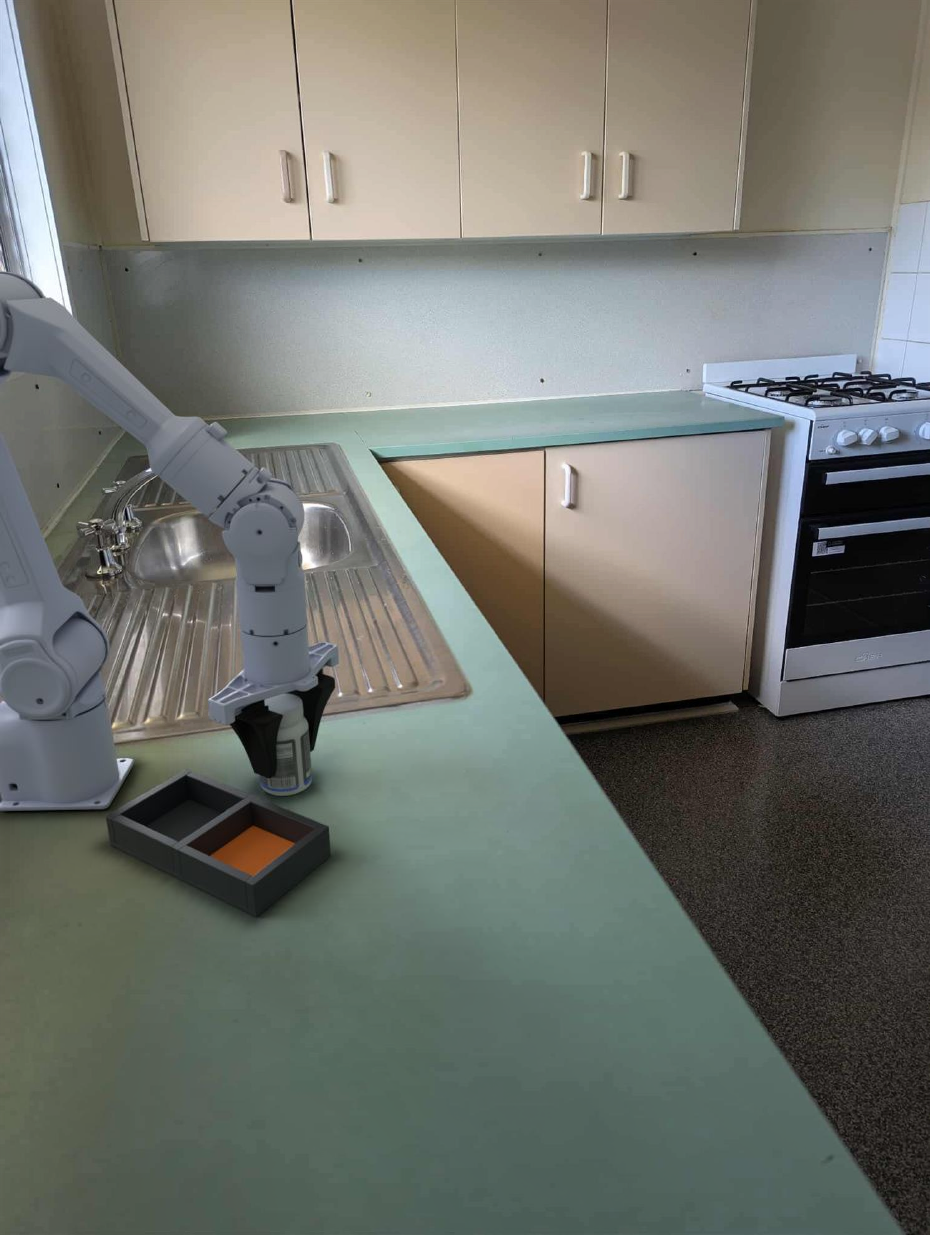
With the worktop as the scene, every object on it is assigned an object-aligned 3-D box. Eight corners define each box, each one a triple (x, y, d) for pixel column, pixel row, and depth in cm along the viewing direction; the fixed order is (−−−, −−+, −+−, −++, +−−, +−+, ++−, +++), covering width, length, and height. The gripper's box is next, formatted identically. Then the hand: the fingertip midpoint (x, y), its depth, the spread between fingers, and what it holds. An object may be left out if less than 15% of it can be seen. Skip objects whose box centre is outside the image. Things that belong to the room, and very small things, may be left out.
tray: (110, 845, 72) (105, 815, 71) (190, 796, 79) (186, 768, 78) (256, 917, 65) (253, 885, 63) (330, 856, 71) (329, 826, 70)
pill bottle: (289, 764, 84) (283, 686, 81) (322, 781, 82) (317, 701, 79) (249, 784, 81) (242, 704, 78) (282, 803, 78) (276, 720, 75)
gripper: (247, 664, 68) (260, 812, 73) (362, 608, 79) (367, 739, 84) (183, 645, 71) (200, 787, 76) (302, 593, 83) (310, 720, 88)
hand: (284, 761), depth 80 cm, fingers closed on pill bottle, 5 cm apart
